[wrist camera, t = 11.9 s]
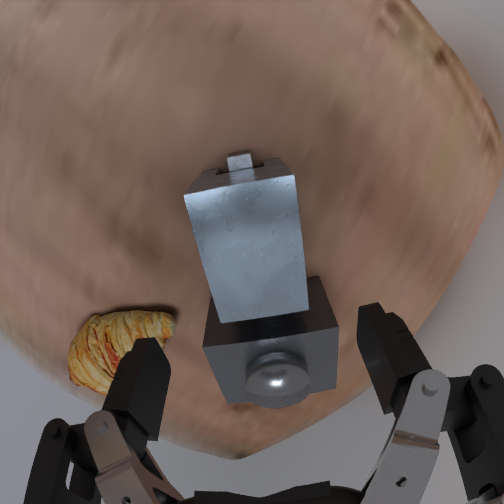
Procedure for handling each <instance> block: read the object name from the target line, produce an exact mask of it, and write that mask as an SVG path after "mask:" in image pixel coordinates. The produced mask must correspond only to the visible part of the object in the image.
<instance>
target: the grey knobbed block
mask: <svg viewBox="0 0 504 504" xmlns="http://www.w3.org/2000/svg"><path fill="white" fill-rule="evenodd" d="M227 162H228V166H229V171H230V172H236V171H241V170H246V169H252V168H253V163H252V158H251V152H250V150H245V151H240V152H234V153H229V155H228V156H227ZM306 280H307V292H308V304H309V310H305V311H299V312H293V313H288V314H282V315H275V316H269V317H263V318H256V319H249V320H242V321H235V322H227V323H221V322H220V319H219V316H218V312H217V309H216V306H215V303H214V300H213V297H212V294H211V299H210V304H209V310H208V316H207V322H206V328H205V334H204V340H203V346H202V347H203V350H204V352H205V355H206V357H207V359H208V362H209V364H210V366H211V368H212V371H213V373H214V375H215V377H216V380H217V382H218V384H219V386H220V388H221V391H222V393H223V395H224V397H225V399H226V401H227V403H228V404H230V403H243V402H252V403H253V404H255V405H258V406H261V407H265V408H283V407H288V406H291V405H294V404H297V403H299V402H300V401H302V400H303V399H305V398H306V397H307V396H308V395H309V393H315V392H320V391H325V390H330V389H335V388H336V379H337V361H338V336H339V326H338V323H337V321H336V318H335V316H334V313H333V310H332V308H331V305H330V303H329V300H328V298H327V295H326V293H325V290H324V288H323V285H322V283H321V280H320V278H319V276H316V277H310V278H306Z"/></svg>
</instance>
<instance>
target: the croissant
mask: <svg viewBox="0 0 504 504" xmlns="http://www.w3.org/2000/svg"><path fill="white" fill-rule="evenodd" d="M175 326H176V321H175V319H174V316H173V315H170V314H168V313H165V312H157V311H154V312H150V311H141V310H135V311H132V310H131V311H127V312H113V313H111V314H107V315H104V316H101V317H100V315H94V316H92V317H90V318H89V320H88V321H87V322H86V323H85V325H83V327H82V328H81V330H80V331H79V332H78V334H77V335H76V336H75V338H74V339H73V341H72V342H71V346H70V349H69V352H68V362H69V364H68V365H69V366H68V371H69V374H70V381H72V382H73V383H74V384H75V385H77V386H80V385H81V386H83V387H88V388H90V389H91V390H93V391H95V392H98V393H100V394H103V395H107V393H108V390H109V388H110V385H111V382H112V380H113V377H114V374H115V372H116V369H117V366H118V364H119V361H120V360H121V358H122V357H123V356H124V355H125V354H126V352H127V351H131V350H132V347H133V344H134V342H135V340H136V339H137V338H148V337H155V338H156V339H157V341H158V343H159V345H160V347H161V348H162V350H163V349H164V345H165V344H166V338H170V337H171V336H172V335H173V331H174V329H175Z"/></svg>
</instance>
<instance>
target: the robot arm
mask: <svg viewBox="0 0 504 504" xmlns="http://www.w3.org/2000/svg"><path fill="white" fill-rule="evenodd" d="M357 344H358V348H359V350H360V353H361V355H362V358H363V360H364V363H365V365H366V368H367V370H368V373H369V375H370V378H371V380H372V383H373V385H374V388H375V391H376V393H377V396H378V399H379V402H380V404H381V407H382V410H383V413H384V414H388V413H391V412H393V413H394V416H395V418H396V419H395V421H394V424H393V427H392V429H391V432H390V434H389V436H388V438H387V441H386V443H385V445H384V448H383V450H382V452H381V454H380V456H379V458H378V460H377V462H376V464H375V466H374V468H373V470H372V471H371V473H370V475H369V477H368V479H367V481H366V483H365V484H364V486H363V488H362V490H361V491H359V490H356V489H352V488H348V487H342V486H330V481H325V482H320V483H315V484H309V485H303V486H296V487H293V488H291V489H287V490H284V491H281V492H278V493H275V494H272V495H269V496H266V497H260V498H258V497H251V496H246V495H240V494H235V493H230V492H211V491H209V492H208V491H195V492H194V497H191V498H188V499H184V498H183V497H182V495H181V494H180V493H179V492H178V491H177V490H176V489H175V488H174V487H173V486H172V485H171V484H170V483H169V481H168V480H167V479H166V477H165V476H164V475H163V473H162V471H161V469H160V468H159V466H158V465H157V463H156V461H155V460H154V458H153V456H152V455H151V453H150V452H149V450H148V448H147V447H146V445H147V440H149V441H158V436H159V430H160V425H161V420H162V415H163V410H164V405H165V400H166V395H167V390H168V385H169V381H170V376H171V368H170V364H169V361H168V359H167V358H166V356H165V354H164V352H163V350H162V348H161V347H160V345H159V343H158V341H157V339H156V338H155V337H148V338H137V339H136V340H135V342H134V344H133V347H132V350H131V351H127V352H126V354H125V355H124V356H123V357H122V358H121V360H120V361H119V364H118V366H117V369H116V372H115V374H114V377H113V380H112V382H111V385H110V388H109V390H108V393H107V396H106V399H105V402H104V405H103V407H102V410H101V411H97V412H94V413H93V414H91V415H90V416H89V417H88V419H87V420H86V422H85V423H82V424H76V425H71V426H70V425H68V424H67V423H66V422H65V421H64V420H62V419H60V418H56V419H53V420H51V421H50V422H48V424H47V425H46V426H45V428H44V430H43V433H42V436H41V439H40V442H39V445H38V449H37V452H36V455H35V459H34V462H33V466H32V469H31V473H30V477H29V481H28V485H27V489H26V494H25V499H24V504H101V497H102V498H103V501H104V503H105V504H419V502H420V500H421V498H422V496H423V493H424V491H425V489H426V486H427V484H428V481H429V479H430V476H431V473H432V471H433V468H434V465H435V462H436V459H437V456H438V453H439V447H440V446H439V444H438V437H439V434H440V432H442V431H447V432H448V435H449V438H450V440H451V444H452V446H453V449H454V452H455V456H456V459H457V462H458V465H459V469H460V472H461V476H462V479H463V483H464V487H465V490H466V494H467V499H468V503H467V504H504V378H503V376H502V375H501V373H500V371H499V370H498V369H497V368H495V367H494V366H492V365H488V364H484V365H480V366H478V367H476V368H475V369H474V370H473V372H472V374H471V376H463V377H453V378H452V377H451V378H449V377H446V376H445V375H444V374H443V373H442V372H440V371H437V370H433V369H432V368H431V366H430V365H429V363H428V361H427V359H426V357H425V356H424V354H423V353H422V351H421V349H420V347H419V346H418V344H417V342H416V340H415V339H413V335H412V334H411V332H410V331H409V330H408V327H407V326H406V324H405V323H404V321H403V319H401V318H400V317H399V316H397V315H396V314H394V313H393V312H391V313H387V314H386V313H385V312H384V310H383V308H382V307H381V305H380V304H379V303H378V302H376V303H372V304H368V305H363V306H360V307H359V310H358V323H357ZM70 461H71V462H72V463H73V464H74V467H73V472H72V476H71V481H70V486H69V490H68V489H67V487H66V477H67V473H68V468H69V464H70Z"/></svg>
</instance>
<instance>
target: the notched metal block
mask: <svg viewBox="0 0 504 504" xmlns="http://www.w3.org/2000/svg"><path fill="white" fill-rule="evenodd" d="M263 164H264V167H258V168H252V169H246V170H241V171H236V172H230V173H225V174H220V171H219V168H217V169H212V170H207V171H202V173H201V174H200V175H199V176H198V178H197V179H196V180H195V181H194V183H193V184H192V185H191V186H190V188H189V189H188V190H187V191H186V193H185V194H184V199H185V203H186V207H187V210H188V214H189V218H190V222H191V225H192V229H193V232H194V236H195V240H196V243H197V247H198V250H199V254H200V257H201V260H202V264H203V267H204V271H205V274H206V277H207V281H208V284H209V287H210V290H211V294H212V297H213V300H214V303H215V306H216V309H217V312H218V316H219V319H220V322H221V323H227V322H235V321H242V320H249V319H256V318H263V317H269V316H275V315H282V314H288V313H293V312H299V311H305V310H309V304H308V292H307V280H306V270H305V260H304V250H303V241H302V232H301V223H300V215H299V207H298V199H297V192H296V184H295V177H294V174H293V173H292V172H291V170H290V169H289V168H288V167H287V166H286V164H285V163H284V162H283V161H282V159H281V158H280V157H278V158H272V159H265V160H263Z"/></svg>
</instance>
